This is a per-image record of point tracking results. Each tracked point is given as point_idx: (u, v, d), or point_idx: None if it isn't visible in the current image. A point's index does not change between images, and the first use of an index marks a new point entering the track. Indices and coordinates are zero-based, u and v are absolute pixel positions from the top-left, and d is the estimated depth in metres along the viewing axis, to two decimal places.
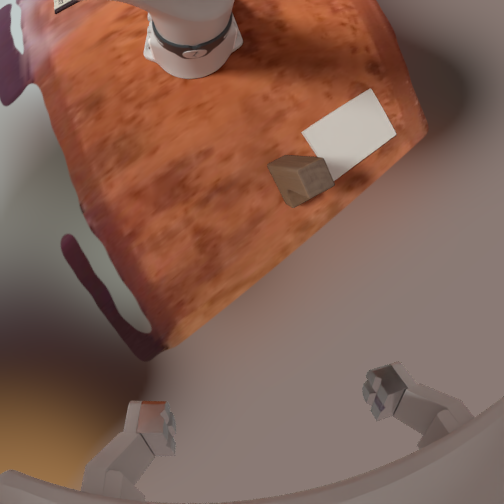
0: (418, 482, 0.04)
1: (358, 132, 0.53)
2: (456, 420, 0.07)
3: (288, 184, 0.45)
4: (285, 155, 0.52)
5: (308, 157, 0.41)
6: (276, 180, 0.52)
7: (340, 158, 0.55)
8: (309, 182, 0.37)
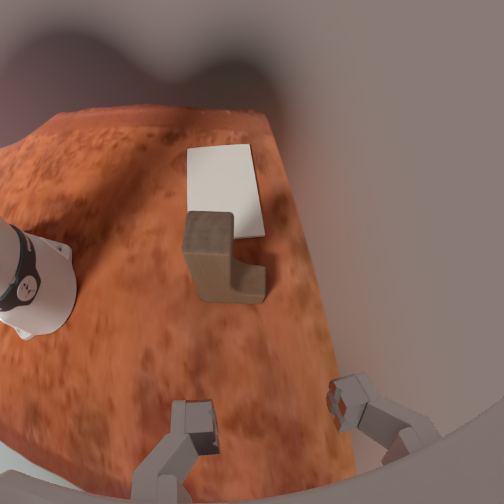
0: (418, 482, 0.04)
1: (224, 181, 0.49)
2: (420, 439, 0.06)
3: (219, 282, 0.32)
4: None
5: None
6: (222, 299, 0.39)
7: (242, 214, 0.47)
8: (207, 243, 0.25)
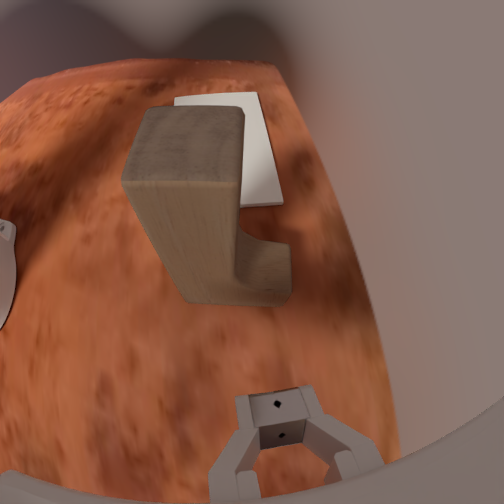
0: (418, 482, 0.04)
1: None
2: (358, 465, 0.06)
3: (212, 266, 0.16)
4: None
5: None
6: (219, 299, 0.24)
7: (249, 173, 0.31)
8: (180, 159, 0.10)
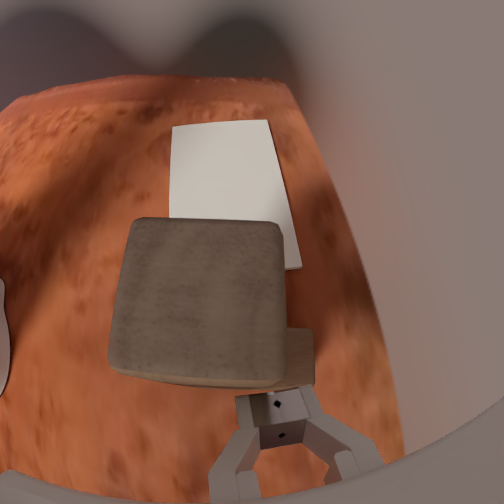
0: (418, 482, 0.04)
1: (231, 175, 0.30)
2: (358, 465, 0.06)
3: None
4: None
5: None
6: (233, 389, 0.20)
7: None
8: (194, 339, 0.06)
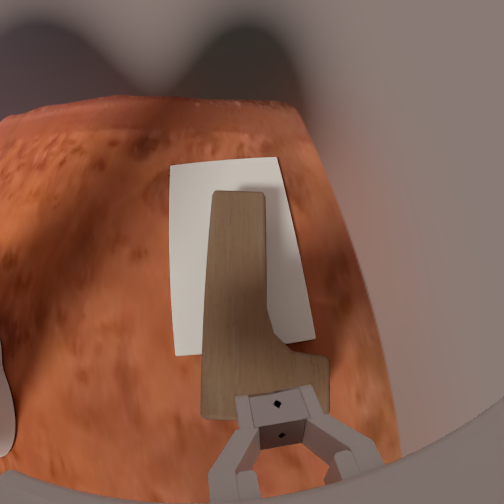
0: (418, 482, 0.04)
1: None
2: (358, 465, 0.06)
3: (248, 279, 0.21)
4: None
5: None
6: (249, 389, 0.18)
7: (273, 299, 0.25)
8: None
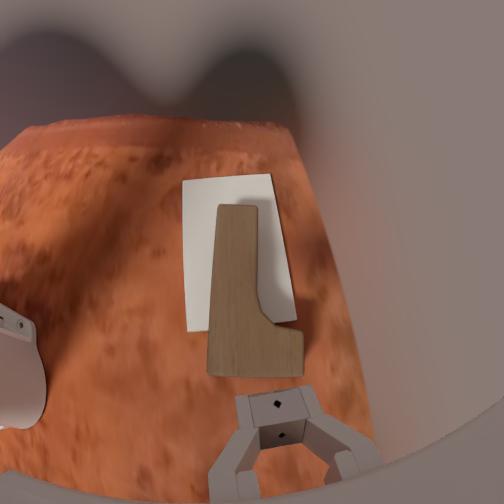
0: (418, 482, 0.04)
1: None
2: (358, 465, 0.06)
3: (243, 271, 0.28)
4: None
5: None
6: (242, 352, 0.25)
7: (264, 288, 0.32)
8: None
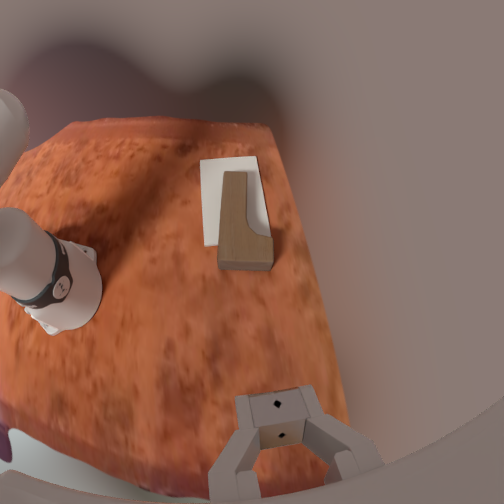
0: (418, 482, 0.04)
1: None
2: (358, 465, 0.06)
3: (238, 205, 0.49)
4: None
5: None
6: (238, 247, 0.46)
7: (251, 220, 0.53)
8: None
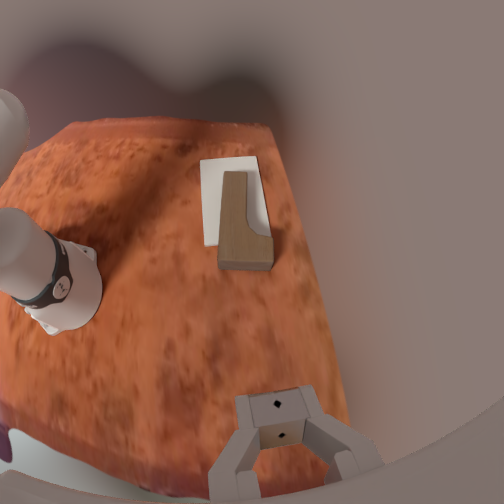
0: (418, 482, 0.04)
1: None
2: (358, 465, 0.06)
3: (238, 205, 0.49)
4: None
5: None
6: (238, 247, 0.46)
7: (251, 220, 0.53)
8: None
